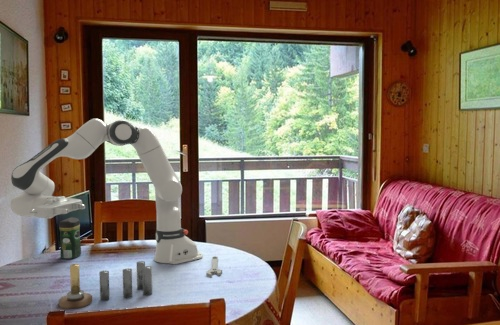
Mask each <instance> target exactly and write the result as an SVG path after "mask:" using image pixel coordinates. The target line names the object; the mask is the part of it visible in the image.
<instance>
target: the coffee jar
mask: <svg viewBox="0 0 500 325" xmlns="http://www.w3.org/2000/svg"><path fill="white" fill-rule="evenodd" d="M58 225H59V226H58V227H59V228H58V229H59V232H60V258H61V259H63V260H69V259H75V258H77V257H79V256H80V255H82V246H81V234H80V229H81V228H80V227H81V223H80V219H79V218H78V217H72V216H71V217H68V218H66V219H63V220H61V221H59V222H58Z"/></svg>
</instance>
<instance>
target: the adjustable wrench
mask: <svg viewBox="0 0 500 325" xmlns="http://www.w3.org/2000/svg"><path fill="white" fill-rule="evenodd" d="M218 262H219V258H218V256H216V255H215V256H212V257H211V268H210V269H208V270H207V271H206V272H205V275H206V277H210V278H213V275H217V276H218V277H220V276H222V273H223V269H221V268H220V269H219V268H218ZM221 272H222V273H221ZM219 275H220V276H219Z"/></svg>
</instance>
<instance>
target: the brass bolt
mask: <svg viewBox="0 0 500 325" xmlns="http://www.w3.org/2000/svg"><path fill="white" fill-rule="evenodd" d="M69 276H70V277H69V278H70V279H69V280H70V291H68V292H67V293H66V295H67V301H70V302H75V301H80V300H82V299H84V293H85V291H84V290H81V280H80V279H81V278H80V277H81V276H80V264H79V263H71V264H70V265H69Z"/></svg>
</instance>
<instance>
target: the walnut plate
mask: <svg viewBox="0 0 500 325" xmlns="http://www.w3.org/2000/svg"><path fill="white" fill-rule="evenodd" d="M92 302H93V295H92V294H91V293H88V292H84V299H82V300H80V301H75V302H70V301H67V294H66V295H64V296H62V297H60V298H59V299H58V308H60V309H64V310H76V309H77V310H78V309H81V308H85V307H87V306H90V304H92Z"/></svg>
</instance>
